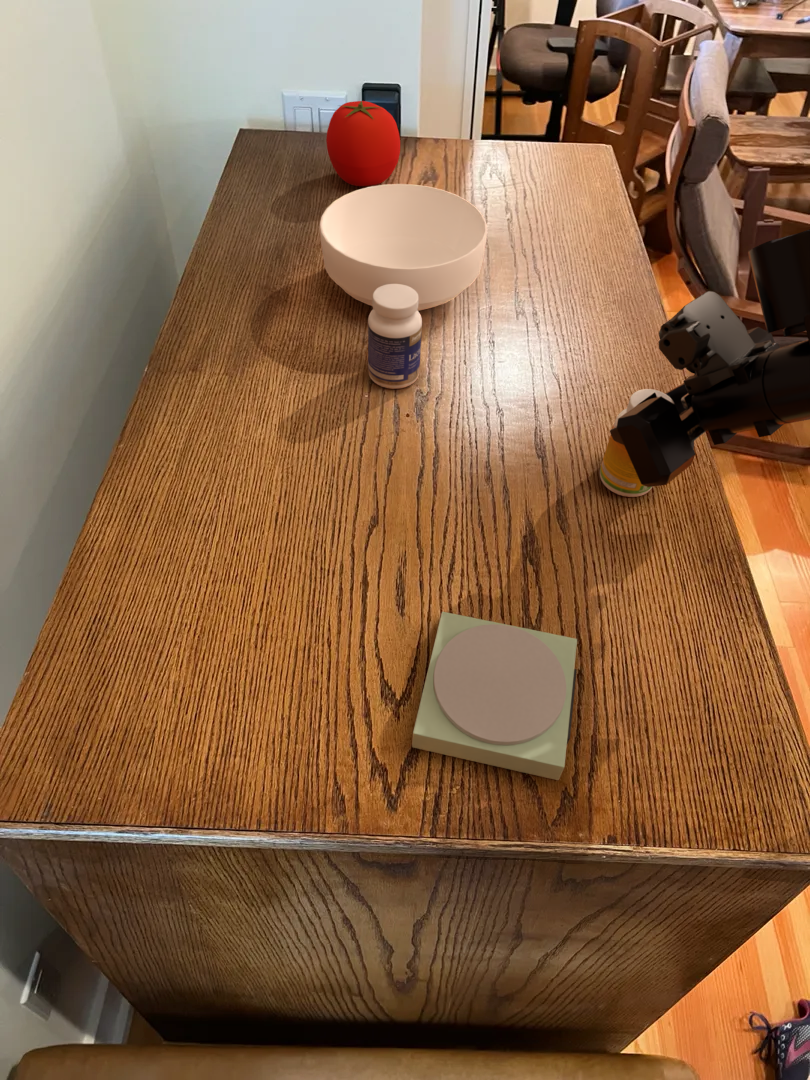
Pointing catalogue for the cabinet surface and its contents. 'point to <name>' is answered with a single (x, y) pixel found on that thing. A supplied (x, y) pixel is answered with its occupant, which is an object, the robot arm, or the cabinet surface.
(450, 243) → the bowl
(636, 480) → the supplement bottle
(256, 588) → the cabinet surface
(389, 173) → the tomato
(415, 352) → the pill bottle
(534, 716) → the scale
